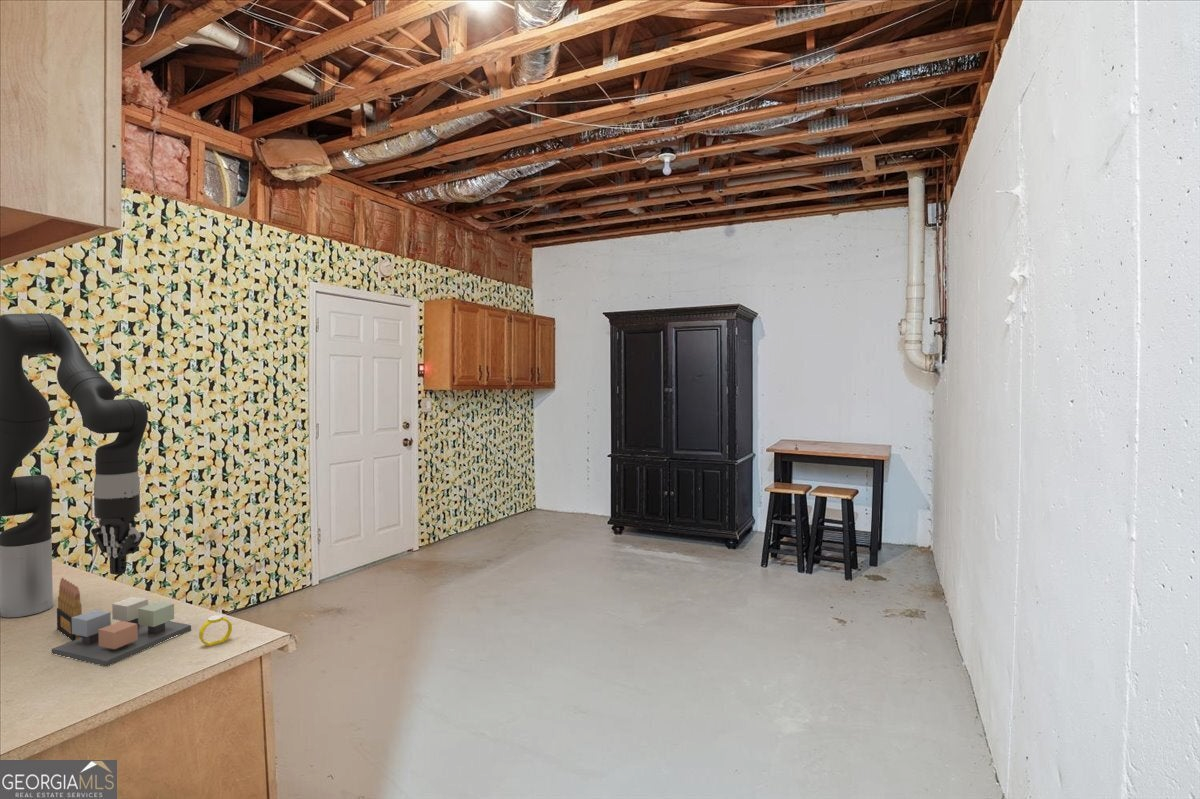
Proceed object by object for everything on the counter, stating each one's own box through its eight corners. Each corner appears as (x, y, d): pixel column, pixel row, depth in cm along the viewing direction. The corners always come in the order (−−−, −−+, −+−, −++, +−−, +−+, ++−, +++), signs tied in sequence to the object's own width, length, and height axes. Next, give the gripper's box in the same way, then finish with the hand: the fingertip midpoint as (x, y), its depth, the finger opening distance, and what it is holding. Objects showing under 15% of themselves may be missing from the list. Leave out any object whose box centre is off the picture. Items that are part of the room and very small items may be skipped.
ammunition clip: (84, 638, 131) (83, 585, 130) (73, 641, 129) (72, 588, 129) (67, 626, 137) (66, 575, 136) (56, 629, 135) (55, 578, 135)
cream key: (112, 618, 133) (112, 603, 133) (133, 611, 138) (133, 596, 138) (127, 621, 132) (126, 606, 132) (148, 613, 136) (148, 599, 136)
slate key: (71, 633, 126) (71, 617, 125) (95, 625, 130) (95, 609, 130) (87, 636, 124) (86, 620, 124) (110, 628, 129) (110, 612, 129)
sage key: (138, 624, 131) (138, 608, 131) (159, 616, 135) (158, 601, 135) (153, 627, 130) (153, 611, 129) (174, 618, 134) (173, 603, 134)
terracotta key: (98, 645, 123) (98, 629, 123) (122, 636, 128) (121, 620, 128) (114, 649, 122) (114, 632, 122) (137, 639, 126) (137, 623, 126)
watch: (203, 651, 127) (200, 624, 127) (199, 646, 129) (196, 620, 128) (234, 639, 132) (231, 614, 131) (229, 636, 134) (227, 610, 133)
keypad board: (51, 654, 124) (51, 636, 124) (140, 620, 141) (140, 604, 141) (106, 666, 119) (106, 647, 119) (191, 630, 136) (191, 613, 136)
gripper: (75, 493, 123) (76, 574, 124) (120, 499, 120) (121, 583, 121) (114, 487, 131) (115, 564, 132) (158, 492, 127) (158, 571, 128)
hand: (118, 573), depth 126 cm, fingers closed
